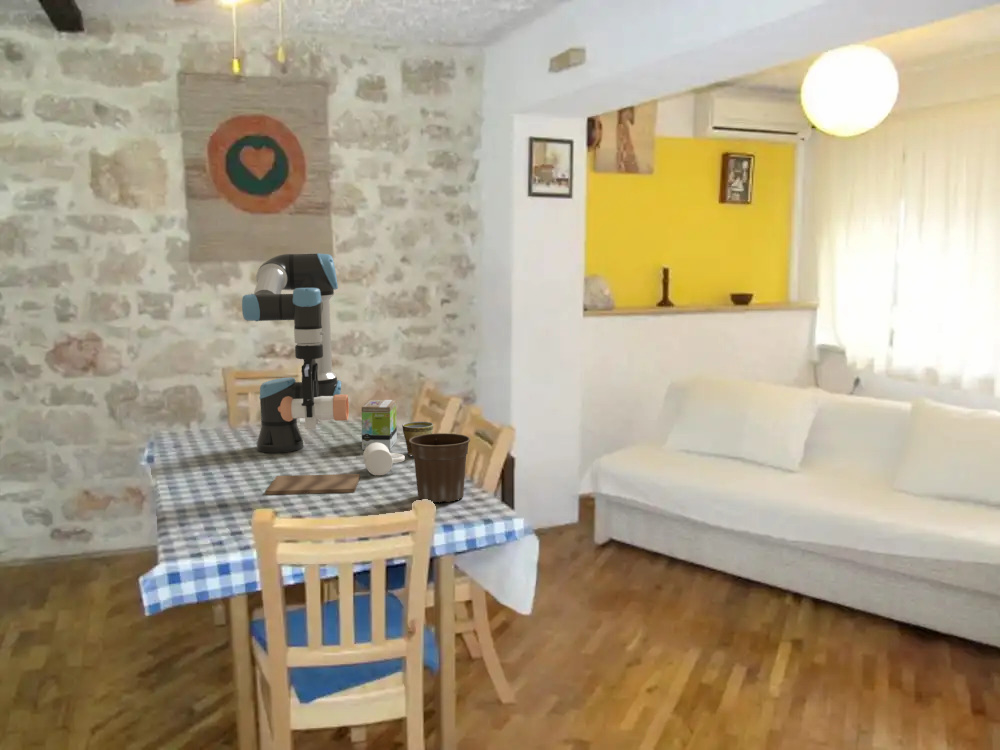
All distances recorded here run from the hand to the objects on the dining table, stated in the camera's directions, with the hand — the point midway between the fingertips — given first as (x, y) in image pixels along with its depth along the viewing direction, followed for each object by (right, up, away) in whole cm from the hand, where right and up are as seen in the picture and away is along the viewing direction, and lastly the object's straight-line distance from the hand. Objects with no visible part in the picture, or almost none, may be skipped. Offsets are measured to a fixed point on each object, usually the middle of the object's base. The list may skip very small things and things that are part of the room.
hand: (312, 426), depth 248 cm
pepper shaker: (+10, +5, 0) cm, 11 cm away
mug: (+18, -15, +18) cm, 29 cm away
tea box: (+12, -10, +53) cm, 55 cm away
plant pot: (+37, -19, -10) cm, 43 cm away
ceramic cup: (+26, -11, +40) cm, 49 cm away
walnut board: (0, -17, +3) cm, 17 cm away
